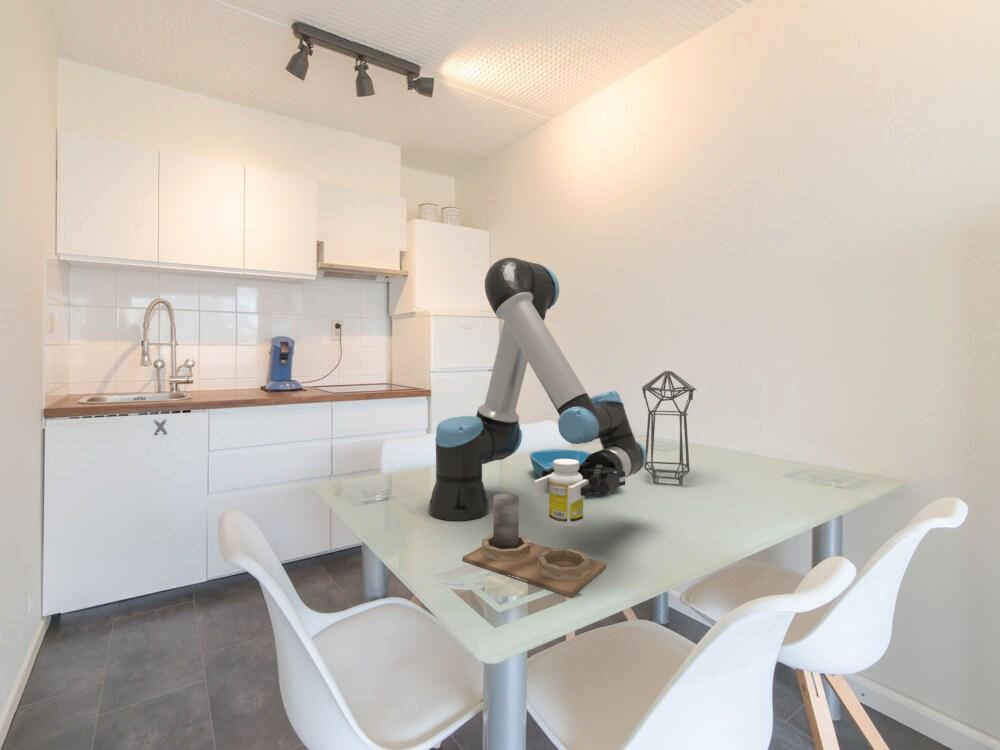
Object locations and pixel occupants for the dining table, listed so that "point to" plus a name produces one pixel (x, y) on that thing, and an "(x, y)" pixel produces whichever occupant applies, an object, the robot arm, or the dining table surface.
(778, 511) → the dining table surface
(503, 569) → the socket board
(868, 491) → the dining table surface
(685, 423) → the geometric lantern
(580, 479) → the pill bottle
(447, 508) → the robot arm
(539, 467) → the casserole dish
